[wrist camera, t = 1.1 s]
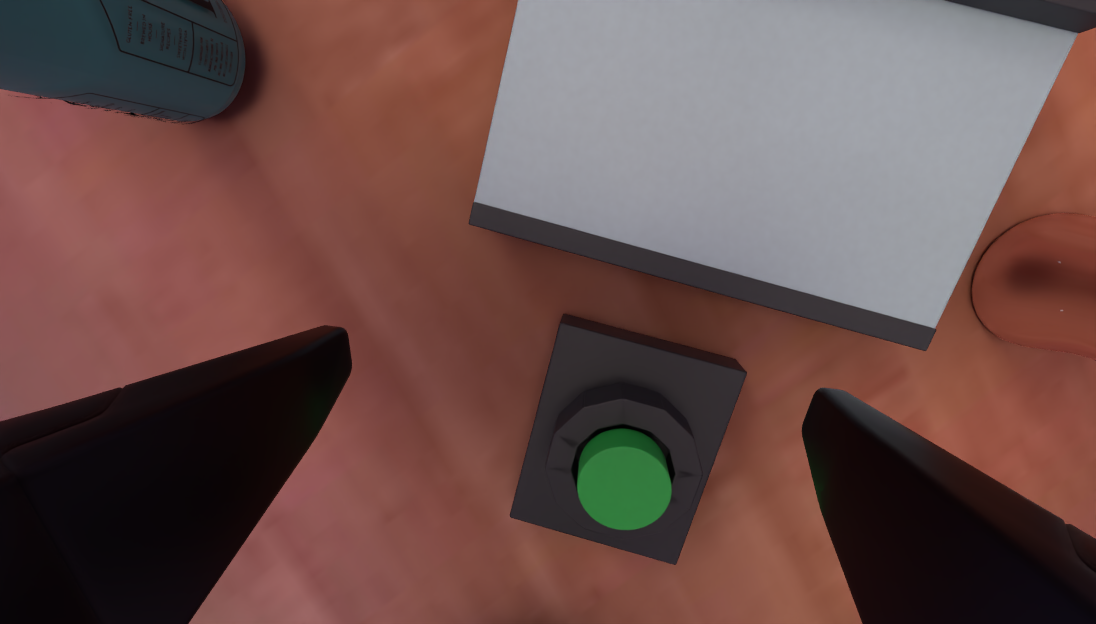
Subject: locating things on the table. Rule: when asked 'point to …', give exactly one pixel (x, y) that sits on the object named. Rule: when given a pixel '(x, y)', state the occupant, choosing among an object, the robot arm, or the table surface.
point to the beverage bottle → (124, 54)
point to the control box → (625, 427)
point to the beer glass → (1041, 284)
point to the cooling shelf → (773, 142)
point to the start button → (623, 479)
